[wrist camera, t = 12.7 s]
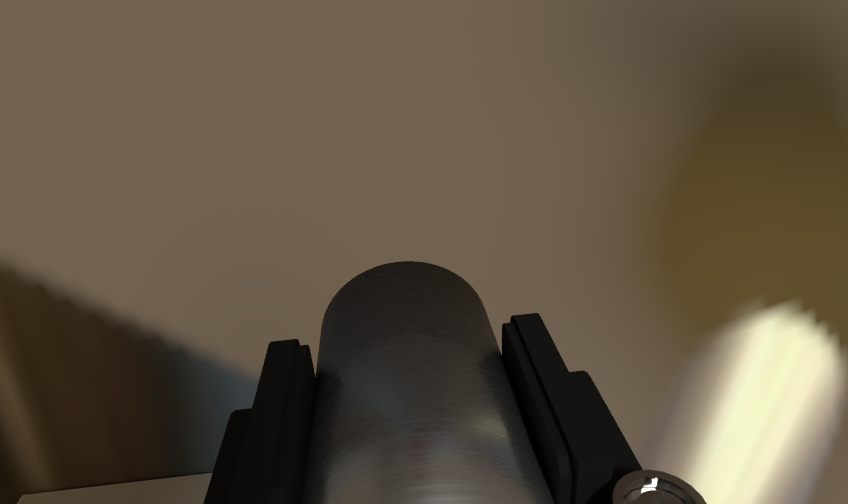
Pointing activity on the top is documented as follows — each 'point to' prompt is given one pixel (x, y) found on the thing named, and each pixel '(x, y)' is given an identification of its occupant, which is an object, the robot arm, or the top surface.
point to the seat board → (131, 492)
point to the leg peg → (415, 398)
